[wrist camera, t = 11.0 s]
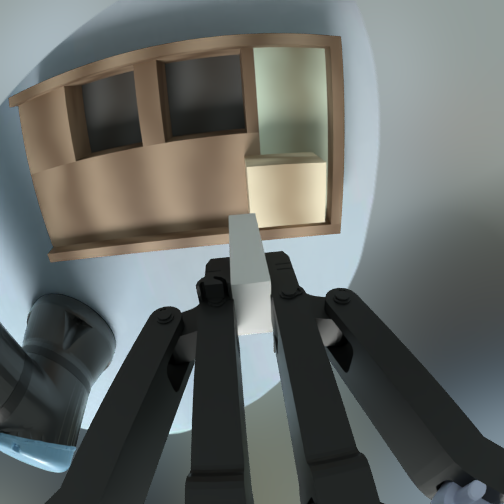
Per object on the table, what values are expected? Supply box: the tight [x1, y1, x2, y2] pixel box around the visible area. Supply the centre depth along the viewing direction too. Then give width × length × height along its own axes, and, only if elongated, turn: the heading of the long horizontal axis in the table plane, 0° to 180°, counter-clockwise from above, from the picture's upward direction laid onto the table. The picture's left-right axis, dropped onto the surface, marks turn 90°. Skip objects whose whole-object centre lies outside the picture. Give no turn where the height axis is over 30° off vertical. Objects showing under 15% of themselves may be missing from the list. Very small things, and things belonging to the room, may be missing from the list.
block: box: [244, 152, 326, 228], centre depth 24 cm, size 6×5×4 cm
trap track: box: [9, 33, 344, 262], centre depth 25 cm, size 30×18×6 cm, turn 94°
